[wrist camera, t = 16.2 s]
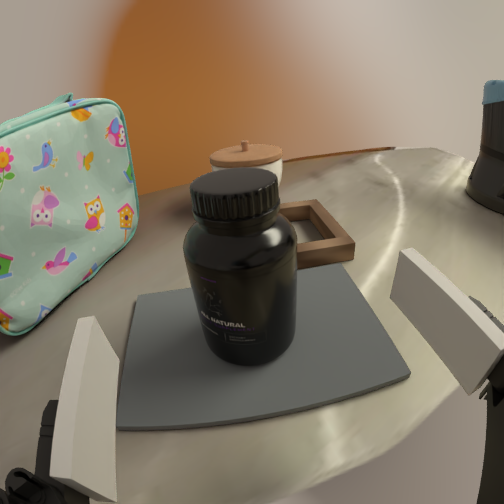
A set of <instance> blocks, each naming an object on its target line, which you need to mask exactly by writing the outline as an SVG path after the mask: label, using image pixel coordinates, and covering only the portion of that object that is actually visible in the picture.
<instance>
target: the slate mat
mask: <svg viewBox="0 0 504 504" xmlns="http://www.w3.org/2000/svg"><path fill="white" fill-rule="evenodd" d="M410 374H411V371H410V370H409V368H408V366H407V365H406V363H405V361H404V360H403V358H402V356H401V355H400V353H399V351H398V350H397V348H396V346H395V345H394V343H393V342H392V340H391V338H390V337H389V335H388V334H387V332H386V330H385V329H384V327H383V326H382V324H381V323H380V321H379V319H378V318H377V316H376V315H375V313H374V312H373V310H372V309H371V307H370V306H369V304H368V303H367V301H366V300H365V298H364V297H363V295H362V294H361V292H360V291H359V289H358V288H357V286H356V285H355V283H354V282H353V280H352V279H351V277H350V276H349V274H348V273H347V272H346V270H345V269H344V267H343V266H342V264H341V263H337V264H331V265H326V266H320V267H315V268H309V269H303V270H298V271H297V304H296V328H295V335H294V339H293V341H292V343H291V345H290V346H289V348H288V349H287V350H286V351H285V352H284V353H283V354H282V355H281V356H279V357H278V358H276V359H274V360H272V361H270V362H268V363H265V364H261V365H256V366H239V365H234V364H231V363H228V362H226V361H224V360H222V359H220V358H219V357H217V356H216V355H215V354H214V353H213V352H212V351H211V350H210V348H209V347H208V345H207V342H206V340H205V336H204V333H203V330H202V326H201V322H200V319H199V315H198V311H197V307H196V303H195V299H194V295H193V291H192V288H185V289H178V290H172V291H165V292H158V293H150V294H143V295H138V298H137V302H136V307H135V311H134V316H133V320H132V325H131V330H130V335H129V340H128V345H127V351H126V356H125V362H124V368H123V374H122V380H121V387H120V394H119V401H118V409H117V417H116V427H117V428H118V429H119V430H167V429H184V428H197V427H207V426H216V425H225V424H232V423H239V422H246V421H252V420H258V419H264V418H269V417H275V416H280V415H285V414H289V413H294V412H299V411H303V410H307V409H311V408H315V407H319V406H323V405H327V404H331V403H334V402H338V401H341V400H345V399H348V398H352V397H355V396H358V395H361V394H364V393H367V392H370V391H373V390H376V389H379V388H382V387H385V386H388V385H391V384H393V383H396V382H399V381H401V380H404V379H406V378H409V376H410Z"/></svg>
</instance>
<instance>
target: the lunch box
mask: <svg viewBox="0 0 504 504" xmlns="http://www.w3.org/2000/svg"><path fill="white" fill-rule="evenodd" d="M72 98H73V94H72V93H68V94H66V95H62V96H59V97H57V98H56V99H55V100H54V101H53V102H52V103H51V104H49V105H47V106H44V107H41V108H39V109H37V110H34V111H31V112H29V113H27V114H25V115H23V116H21V117H18V118H14V119H10V120H8V121H6V122H4V123H2V124H0V332H2V333H4V334H6V335H11V336H17V335H21V334H24V333H26V332H27V331H29V330H30V329H32V328H33V327H34V326H36V325H37V324H38V323H39V322H40V321H41V320H42V319H43V318H44V317H45V316H46V315H47V314H48V313H49V312H50V311H51V310H52V309H53V308H54V307H56V306H57V305H58V304H59V303H60V302H61V301H62V300H63V299H64V298H66V297H67V296H68V295H69V294H70V293H71V292H73V291H74V290H75V289H76V288H78V287H79V286H80V285H82V284H83V283H84V282H86V281H89V280H90V279H91V278H92V277H93V276H94V275H95V274H96V273H97V272H98V270H99V269H100V268H101V267H102V266H103V265H104V264H105V263H106V262H107V261H108V260H109V259H110V258H111V257H112V256H114V255H115V254H116V253H117V252H119V251H120V250H121V249H122V248H123V247H124V246H125V245H126V244H127V243H128V242H129V241H130V239H131V238H132V237H133V235H134V233H135V230H136V227H137V223H138V218H139V202H138V194H137V188H136V182H135V176H134V170H133V164H132V158H131V152H130V146H129V141H128V134H127V128H126V122H125V118H124V114H123V112H122V110H121V108H120V107H119V106H118V105H117V104H116V103H115V102H114V101H112V100H109V99H104V98H90V99H84V98H82V99H78V100H73V99H72Z"/></svg>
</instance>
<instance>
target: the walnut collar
mask: <svg viewBox="0 0 504 504" xmlns="http://www.w3.org/2000/svg"><path fill="white" fill-rule="evenodd" d="M279 213H280V214H282V215H283V216H285V217H286V218H287V219H288V220H289V221H297V220H304V219H310V220H311V221H312V223H313V224H314V225H315V227H316V228H317V229H318V231H319V232H320V233H321V235H322V236H323V238H324V239H325V240H319V241H313V242H307V243H300V244H297V269H302V268H308V267H314V266H319V265H325V264H331V263H336V262H342V261H347V260H353V259H354V251H355V242H354V241H353V239H352V238H351V237H350V236H349V235H348V234H347V233H346V231H345V230H344V229H343V228H342V227H341V226H340V225H339V224H338V222H337V221H336V220H335V219H334V218H333V217H332V216H331V215H330V213H329V212H328V211H327V210H326V209H325V208H324V207H323V206H322V205H321V204H320V203H319V201H318V200H317V199H315V200H307V201H299V202H291V203H283V204H280V210H279Z"/></svg>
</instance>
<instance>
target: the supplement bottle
mask: <svg viewBox="0 0 504 504" xmlns="http://www.w3.org/2000/svg"><path fill="white" fill-rule="evenodd" d="M190 194H191V200H192V213H193V217H194V219H195V221H196V222H195V223H194V224H193V225H192V226H191V227H190V229H189V230H188V232H187V234H186V236H185V239H184V244H183V251H184V257H185V262H186V266H187V270H188V275H189V279H190V283H191V287H192V291H193V295H194V299H195V303H196V307H197V311H198V315H199V319H200V322H201V326H202V330H203V333H204V336H205V340H206V342H207V345H208V347H209V348H210V350H211V351H212V352H213V353H214V354H215V355H216V356H217V357H219V358H220V359H222V360H224V361H226V362H228V363H231V364H234V365H239V366H256V365H261V364H265V363H268V362H270V361H272V360H274V359H276V358H278V357H279V356H281V355H282V354H283V353H284V352H285V351H286V350H287V349H288V348H289V346H290V345H291V343H292V341H293V339H294V335H295V328H296V304H297V235H296V231H295V229H294V227H293V226H292V224H291V223H290V221H289V220H288V219H287V218H286V217H285V216H283V215H282V214H280V213H279V210H280V198H279V192H278V178H277V176H276V174H274V173H273V172H271V171H269V170H265V169H261V168H252V167H239V168H227V169H222V170H218V171H213V172H210V173H207V174H205V175H202V176H200V177H198V178H196V179H195V180H194V181H193V182H192V183H191V186H190Z"/></svg>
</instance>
